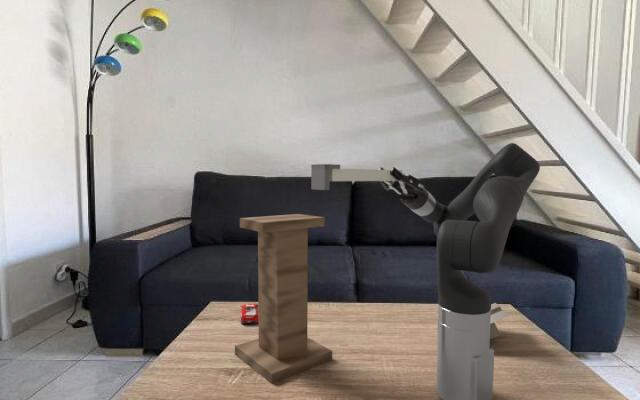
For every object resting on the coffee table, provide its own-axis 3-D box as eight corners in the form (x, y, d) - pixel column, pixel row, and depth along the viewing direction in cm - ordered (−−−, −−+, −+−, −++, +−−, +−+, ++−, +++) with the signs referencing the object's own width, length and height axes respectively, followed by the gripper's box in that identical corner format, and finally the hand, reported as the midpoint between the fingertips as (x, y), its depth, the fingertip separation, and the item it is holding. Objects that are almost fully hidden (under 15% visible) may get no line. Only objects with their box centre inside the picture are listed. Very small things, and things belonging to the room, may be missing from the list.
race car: (241, 310, 120) (241, 297, 120) (259, 309, 121) (259, 296, 120) (238, 326, 107) (238, 312, 106) (258, 325, 107) (258, 311, 107)
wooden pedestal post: (332, 359, 87) (333, 218, 85) (271, 383, 77) (271, 224, 75) (291, 336, 100) (291, 212, 98) (234, 354, 90) (233, 217, 88)
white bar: (403, 187, 109) (404, 166, 108) (324, 189, 91) (324, 164, 90) (389, 187, 113) (390, 166, 112) (311, 189, 94) (311, 164, 94)
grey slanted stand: (477, 372, 90) (529, 332, 89) (452, 341, 92) (502, 301, 91) (464, 351, 106) (508, 317, 105) (442, 325, 108) (485, 291, 107)
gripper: (403, 187, 124) (371, 159, 114) (442, 189, 113) (410, 157, 103) (395, 208, 122) (362, 181, 112) (434, 211, 111) (401, 182, 101)
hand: (385, 170), depth 107 cm, fingers closed on white bar, 4 cm apart
